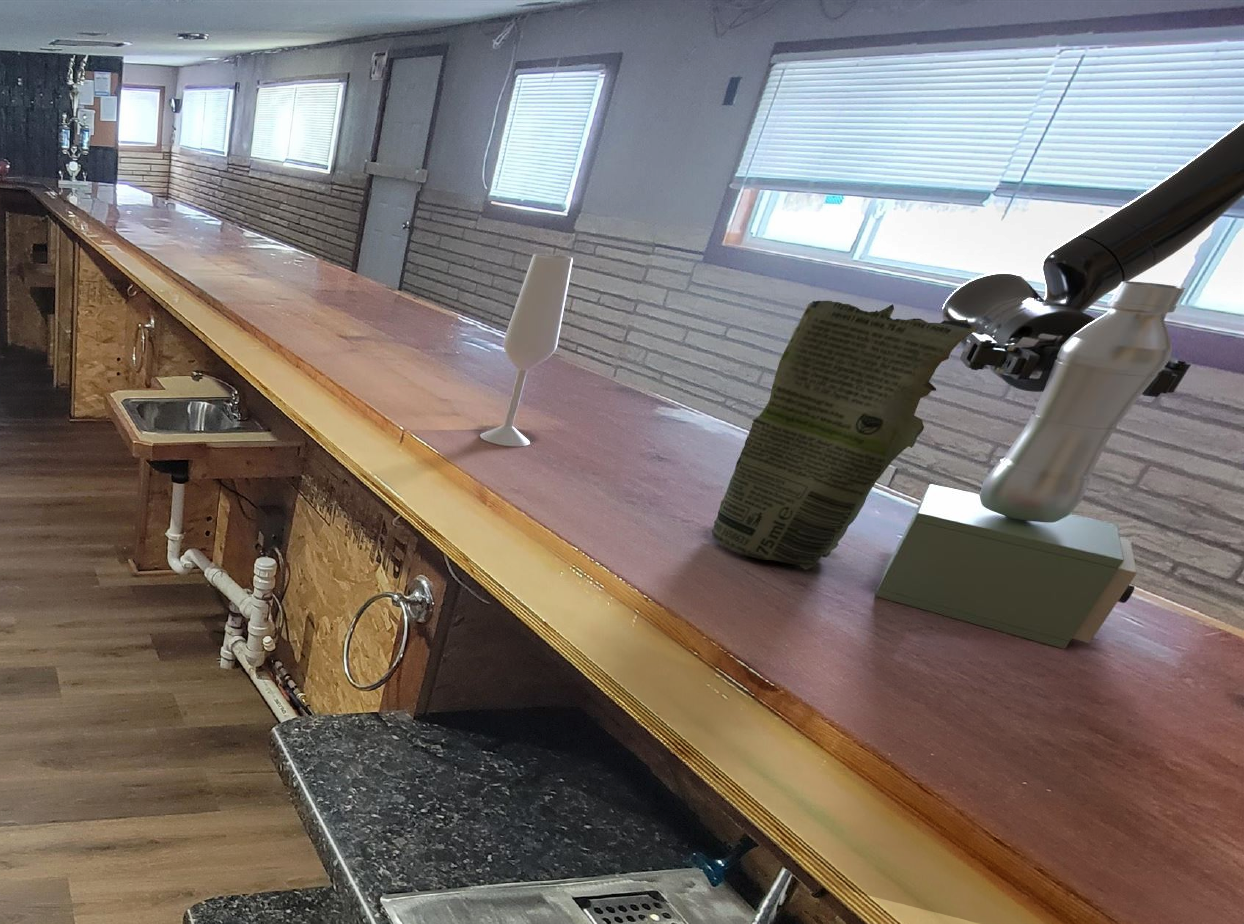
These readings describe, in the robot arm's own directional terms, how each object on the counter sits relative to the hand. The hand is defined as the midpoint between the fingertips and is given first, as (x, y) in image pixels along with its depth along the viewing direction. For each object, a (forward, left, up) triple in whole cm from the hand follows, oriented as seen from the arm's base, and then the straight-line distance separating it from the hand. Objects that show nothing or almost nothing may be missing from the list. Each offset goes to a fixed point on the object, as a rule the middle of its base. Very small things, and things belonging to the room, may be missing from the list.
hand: (1092, 376), depth 76 cm
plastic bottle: (0, +1, -13) cm, 13 cm away
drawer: (-3, +2, -20) cm, 20 cm away
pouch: (+16, +3, -21) cm, 27 cm away
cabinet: (0, +2, -21) cm, 21 cm away
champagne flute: (+52, -14, -21) cm, 58 cm away
